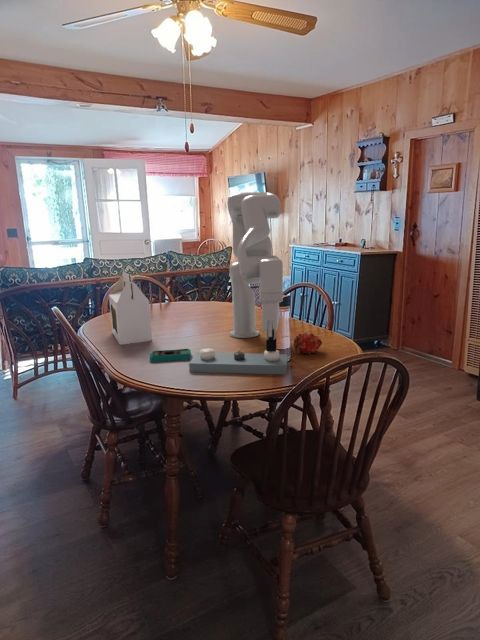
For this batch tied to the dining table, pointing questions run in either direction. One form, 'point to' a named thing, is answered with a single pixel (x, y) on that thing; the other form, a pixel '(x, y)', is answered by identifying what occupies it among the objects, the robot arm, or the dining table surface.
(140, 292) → the gable box
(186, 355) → the digital multimeter
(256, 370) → the mount board
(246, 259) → the robot arm
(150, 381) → the dining table surface
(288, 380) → the dining table surface
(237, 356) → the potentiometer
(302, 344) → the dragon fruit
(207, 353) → the knob
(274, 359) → the knob
